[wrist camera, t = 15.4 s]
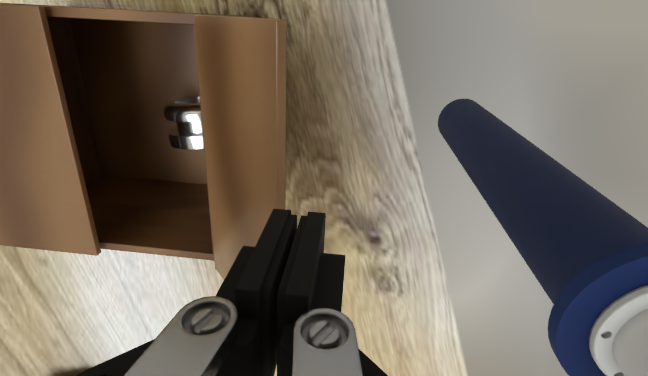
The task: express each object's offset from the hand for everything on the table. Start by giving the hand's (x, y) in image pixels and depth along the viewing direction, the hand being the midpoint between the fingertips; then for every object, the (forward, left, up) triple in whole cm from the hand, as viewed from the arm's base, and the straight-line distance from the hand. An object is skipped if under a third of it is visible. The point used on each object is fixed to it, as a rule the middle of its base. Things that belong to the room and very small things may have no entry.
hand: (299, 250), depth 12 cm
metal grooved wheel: (+10, 0, -19) cm, 21 cm away
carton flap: (+4, 0, -5) cm, 6 cm away
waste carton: (+14, 0, -19) cm, 23 cm away
